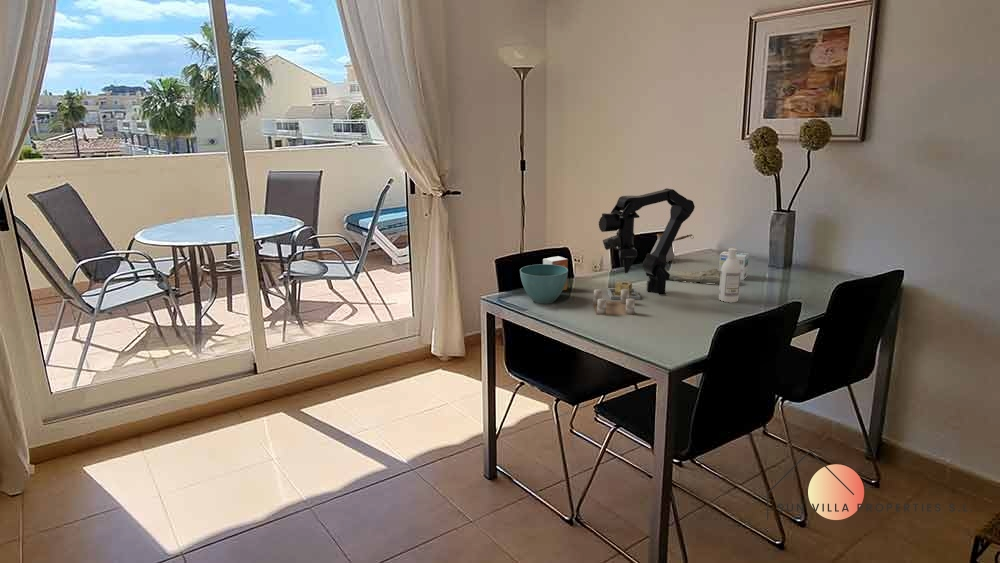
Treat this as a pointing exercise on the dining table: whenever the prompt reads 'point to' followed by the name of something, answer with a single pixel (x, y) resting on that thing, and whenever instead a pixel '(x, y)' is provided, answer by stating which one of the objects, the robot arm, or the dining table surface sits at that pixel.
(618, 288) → the nut
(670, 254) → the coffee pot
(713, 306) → the dining table surface
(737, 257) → the light bulb box
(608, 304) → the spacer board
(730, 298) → the bath foam
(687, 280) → the elongated rock
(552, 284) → the teal bowl
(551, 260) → the small box
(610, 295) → the tray
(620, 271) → the dining table surface
